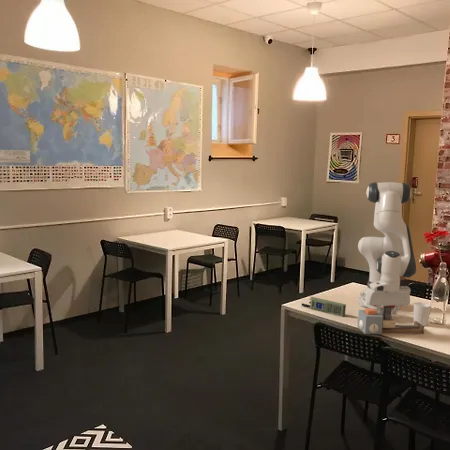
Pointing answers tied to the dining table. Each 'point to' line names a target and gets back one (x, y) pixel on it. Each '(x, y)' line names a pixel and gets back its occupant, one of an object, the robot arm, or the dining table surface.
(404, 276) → the robot arm
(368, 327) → the gauge cabinet
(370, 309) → the button
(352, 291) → the dining table surface
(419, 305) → the white cup
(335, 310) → the handheld radio
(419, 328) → the rail
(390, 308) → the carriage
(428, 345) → the dining table surface
